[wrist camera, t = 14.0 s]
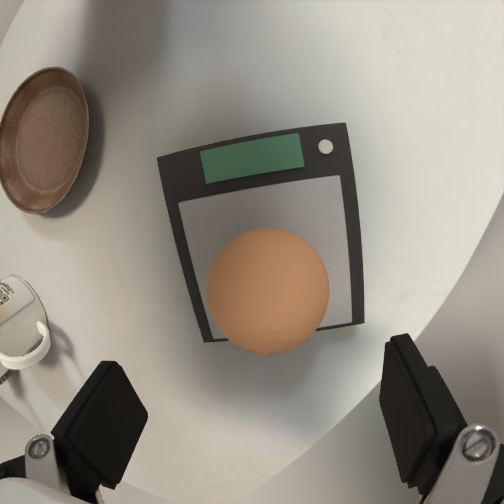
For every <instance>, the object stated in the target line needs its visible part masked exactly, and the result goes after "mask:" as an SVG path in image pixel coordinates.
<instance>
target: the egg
mask: <svg viewBox="0 0 504 504" xmlns="http://www.w3.org/2000/svg"><path fill="white" fill-rule="evenodd" d="M329 296H330V291H329V279H328V275H327V270H326V268H325V266H324V263H323V261H322V259H321V257H320V256H319V254H318V253H317V252H316V251H315V249H314V248H313V247H312V246H311V245H310V244H309V243H308V242H307V241H306V240H305V239H303V238H301V237H300V236H298V235H296V234H294V233H293V232H290V231H286V230H282V229H278V228H258V229H254V230H250V231H247V232H245V233H243V234H241V235H238V236H237V237H236V238H234V239H233V240H232V241H231V242H229V243H228V244H227V245H226V246H224V247H223V249H222V250H221V252H220V253H219V254H218V256H217V257H216V259H215V260H214V263H213V265H212V267H211V270H210V272H209V275H208V282H207V303H208V307H209V311H210V314H211V316H212V318H213V319H214V321H215V323H216V325H217V327H218V328H219V330H220V331H221V332H222V334H223V335H224V336H225V337H226V338H227V339H228V340H230V341H231V342H232V343H233V344H234V345H236V346H238V347H240V348H242V349H244V350H246V351H248V352H252V353H256V354H261V355H273V354H278V353H282V352H286V351H288V350H291V349H293V348H295V347H297V346H299V345H300V344H301V343H303V342H304V341H305V340H307V339H308V338H309V337H310V336H311V335H312V334H313V333H314V332H315V330H316V329H317V328H318V326H319V325H320V323H321V322H322V320H323V318H324V316H325V313H326V310H327V307H328V301H329Z"/></svg>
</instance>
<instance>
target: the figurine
mask: <svg viewBox="0 0 504 504" xmlns="http://www.w3.org/2000/svg"><path fill="white" fill-rule="evenodd" d="M14 371H15V369H9V370H8V371H7V372H6V373H5V374H4V375H3V376H2V377H1V378H0V385H1V384H3V383H4V382H5V381H6V379H7V378H8V377H9V376H10V375H11V374H12V373H13V372H14Z"/></svg>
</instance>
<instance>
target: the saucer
mask: <svg viewBox="0 0 504 504" xmlns="http://www.w3.org/2000/svg"><path fill="white" fill-rule="evenodd" d="M89 123H90V121H89V110H88V104H87V100H86V96H85V93H84V90H83V88H82V86H81V84H80V82H79V81H78V79H77V78H76V77H75V76H74V75H73V74H72V73H71V72H70V71H68V70H66V69H64V68H61V67H48V68H44V69H41V70H39V71H37V72H35V73H34V74H32V75H31V76H29V77H28V78H27V79H26V80H25V81H24V82H23V83H22V84H21V85H20V86H19V87H18V88H17V90H16V91H15V92H14V94H13V96H12V97H11V99H10V100H9V102H8V104H7V106H6V108H5V111H4V113H3V116H2V118H1V122H0V182H1V185H2V187H3V190H4V192H5V194H6V195H7V197H8V198H9V200H10V201H11V202H12V203H13V204H14V205H15V206H16V207H17V208H19V209H20V210H22V211H24V212H26V213H30V214H40V213H44V212H47V211H49V210H51V209H52V208H54V207H55V206H56V205H57V204H59V203H60V202H61V201H62V200H63V198H64V197H65V196H66V194H67V193H68V192H69V190H70V189H71V187H72V185H73V184H74V182H75V180H76V178H77V176H78V174H79V171H80V169H81V167H82V164H83V161H84V158H85V154H86V150H87V145H88V139H89V128H90V125H89Z"/></svg>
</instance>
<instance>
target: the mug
mask: <svg viewBox="0 0 504 504" xmlns="http://www.w3.org/2000/svg"><path fill="white" fill-rule="evenodd" d="M43 337H44V338H43ZM42 338H43V341H42V343H41V344H40V346H39V347H38V348H37V349H35V350H34V351H33V352H31V353H29V354H27V355H25V354H26V353H27V352H28V351H29V350H30V349H31V348H32V347H33V346H34V345H36V344H37V343H38V342H39V341H40V340H41V339H42ZM50 343H51V341H50V335H49V330H48V328H47V319H46V315H45V311H44V309H43V306H42V304H41V302H40V300H39V298H38V296H37V295H36V293H35V292H34V290H33V289H32V288H31V286H30V285H29V284H28V283H27V282H26V281H25V280H24V279H22V278H21V277H19V276H16V275H9V276H7V277H5V278H4V279H2V280H0V378H1V377H2V376H3V375H4V374H5V373H6V372H7V371H8V370H9V369H16V370H19V369H25V368H28V367H31V366H33V365H34V364H36V363H38V362H39V361H40V360H41V359H42V358H43V357H44V356H45V355H46V354H47V352H48V350H49V348H50Z"/></svg>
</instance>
